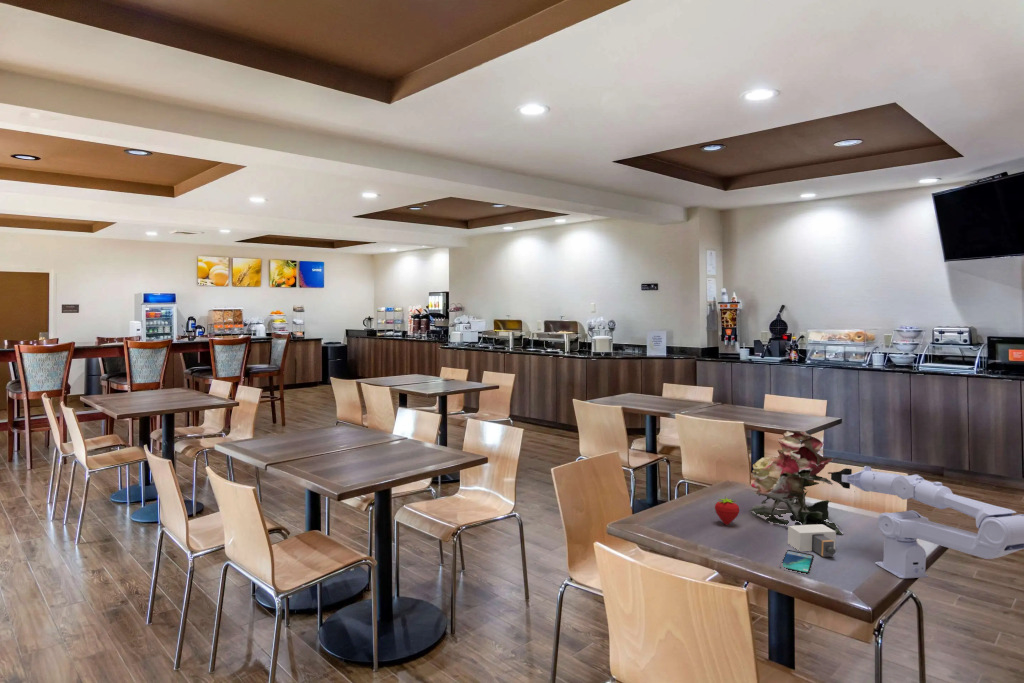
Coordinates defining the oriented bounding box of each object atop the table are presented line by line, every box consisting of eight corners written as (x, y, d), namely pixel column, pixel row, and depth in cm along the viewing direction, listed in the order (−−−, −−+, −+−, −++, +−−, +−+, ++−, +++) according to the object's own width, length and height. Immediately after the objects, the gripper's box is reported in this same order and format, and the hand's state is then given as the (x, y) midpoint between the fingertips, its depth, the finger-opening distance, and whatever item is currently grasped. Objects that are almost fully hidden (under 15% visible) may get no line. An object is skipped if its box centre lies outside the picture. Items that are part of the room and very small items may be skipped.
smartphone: (814, 554, 171) (808, 574, 158) (814, 557, 171) (808, 576, 158) (786, 549, 175) (779, 567, 162) (786, 551, 175) (779, 570, 162)
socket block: (835, 550, 175) (835, 531, 175) (799, 551, 174) (800, 533, 174) (822, 542, 181) (822, 524, 181) (787, 543, 180) (788, 525, 179)
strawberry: (737, 529, 191) (738, 498, 190) (712, 525, 194) (713, 495, 194) (740, 524, 196) (741, 493, 196) (715, 520, 200) (716, 490, 199)
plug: (837, 558, 168) (837, 543, 168) (826, 559, 168) (827, 544, 168) (817, 546, 177) (818, 532, 177) (807, 547, 176) (808, 532, 176)
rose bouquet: (809, 505, 216) (812, 421, 214) (854, 536, 186) (857, 439, 185) (736, 504, 216) (739, 421, 214) (769, 535, 187) (772, 438, 185)
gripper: (902, 470, 170) (863, 465, 183) (859, 465, 167) (822, 461, 180) (902, 495, 169) (862, 489, 182) (859, 492, 166) (822, 485, 179)
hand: (842, 477), depth 181 cm, fingers open, 7 cm apart
